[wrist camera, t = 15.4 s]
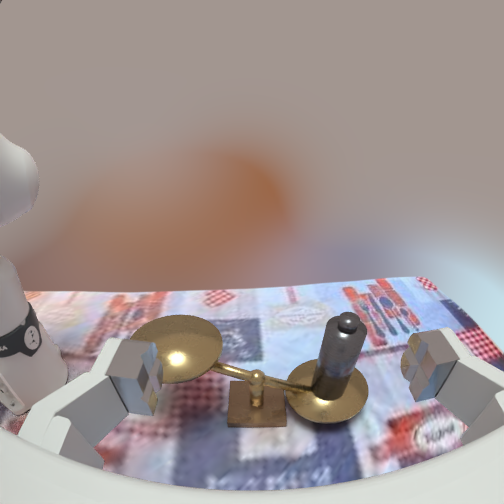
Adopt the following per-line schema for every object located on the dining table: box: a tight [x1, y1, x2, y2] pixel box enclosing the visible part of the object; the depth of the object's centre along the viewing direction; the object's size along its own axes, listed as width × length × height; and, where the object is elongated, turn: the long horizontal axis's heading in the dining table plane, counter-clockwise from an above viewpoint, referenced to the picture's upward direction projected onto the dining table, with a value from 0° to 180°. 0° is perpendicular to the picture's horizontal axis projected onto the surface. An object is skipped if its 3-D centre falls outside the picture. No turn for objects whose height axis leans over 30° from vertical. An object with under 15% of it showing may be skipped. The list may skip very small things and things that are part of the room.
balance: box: [130, 315, 368, 427], centre depth 36 cm, size 32×12×13 cm, turn 90°
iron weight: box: [311, 312, 367, 401], centre depth 34 cm, size 5×5×12 cm
